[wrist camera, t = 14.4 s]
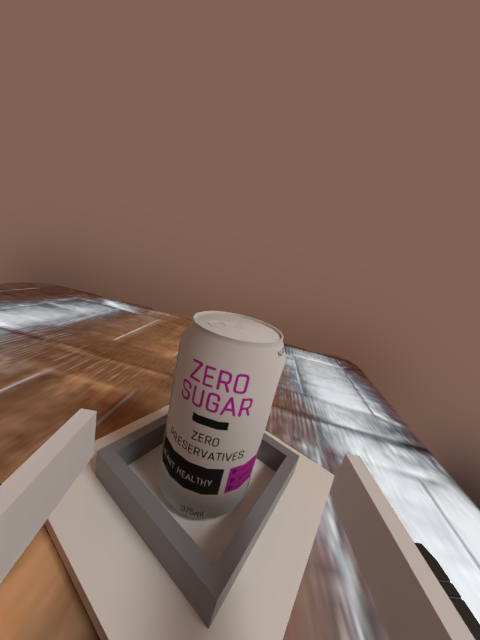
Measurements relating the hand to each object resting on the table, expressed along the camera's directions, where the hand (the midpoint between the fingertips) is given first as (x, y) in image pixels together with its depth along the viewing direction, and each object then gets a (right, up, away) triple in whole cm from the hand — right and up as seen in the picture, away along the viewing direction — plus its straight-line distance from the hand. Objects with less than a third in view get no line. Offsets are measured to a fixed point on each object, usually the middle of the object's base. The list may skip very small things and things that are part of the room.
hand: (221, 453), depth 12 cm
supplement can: (-2, -8, +9) cm, 12 cm away
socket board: (-3, -9, +10) cm, 13 cm away
